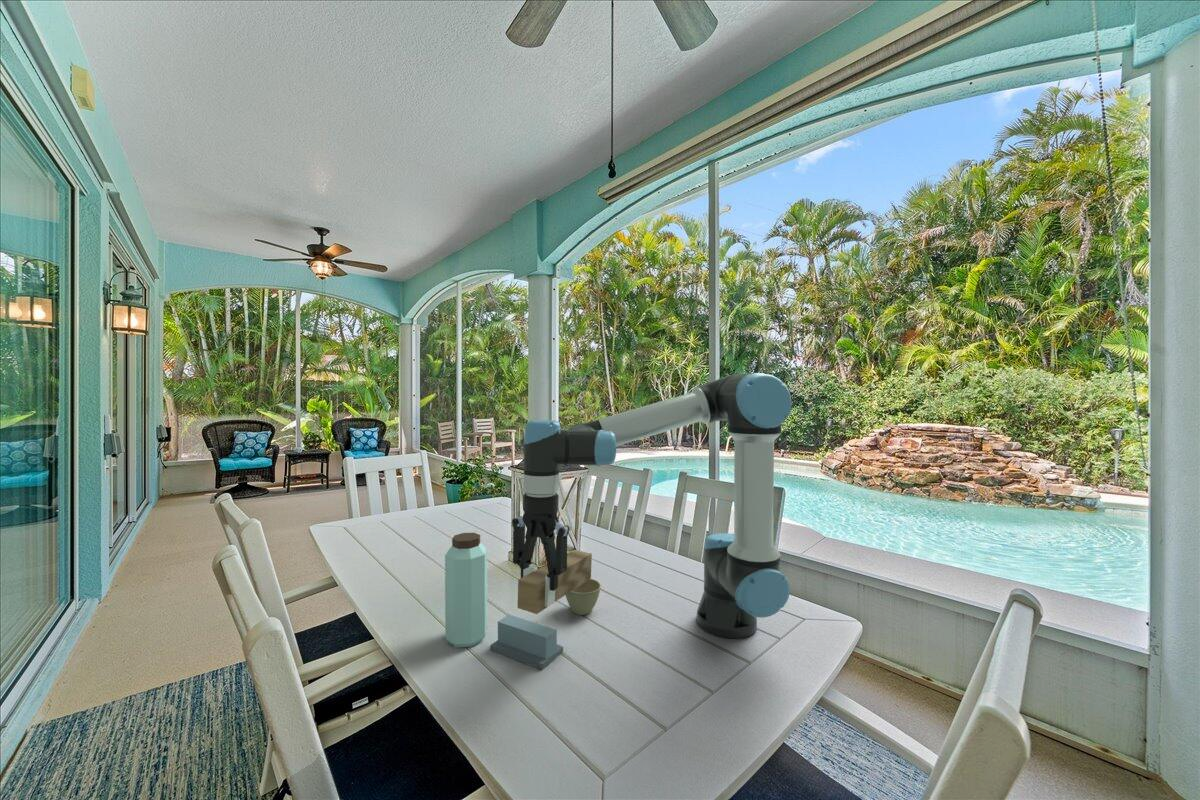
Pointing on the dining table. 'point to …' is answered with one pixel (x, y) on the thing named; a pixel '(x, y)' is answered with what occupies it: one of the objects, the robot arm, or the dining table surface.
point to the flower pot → (584, 597)
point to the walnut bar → (574, 576)
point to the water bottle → (466, 591)
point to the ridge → (526, 641)
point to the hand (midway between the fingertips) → (538, 600)
